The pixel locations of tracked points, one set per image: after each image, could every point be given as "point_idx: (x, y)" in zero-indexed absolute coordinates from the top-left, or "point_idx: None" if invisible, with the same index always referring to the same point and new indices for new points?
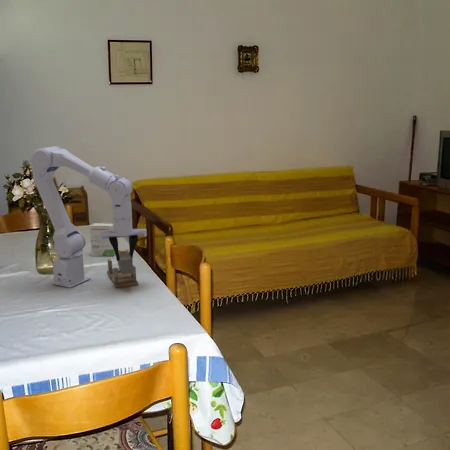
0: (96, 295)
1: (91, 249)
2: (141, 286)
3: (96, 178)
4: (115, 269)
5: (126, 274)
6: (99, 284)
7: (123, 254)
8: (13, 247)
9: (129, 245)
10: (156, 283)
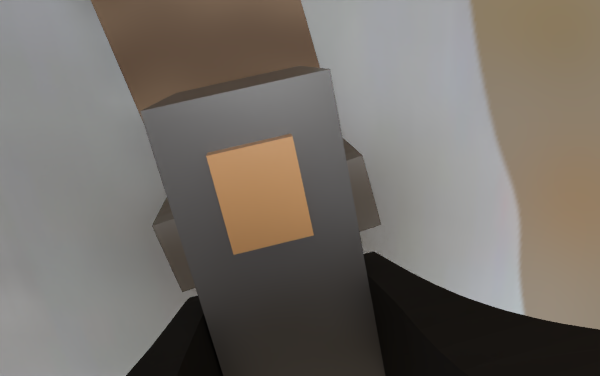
0: (99, 370)
1: None
2: (379, 233)
3: None
4: (187, 274)
5: (254, 13)
6: (55, 168)
7: (288, 353)
8: None
9: (416, 341)
10: (480, 184)
